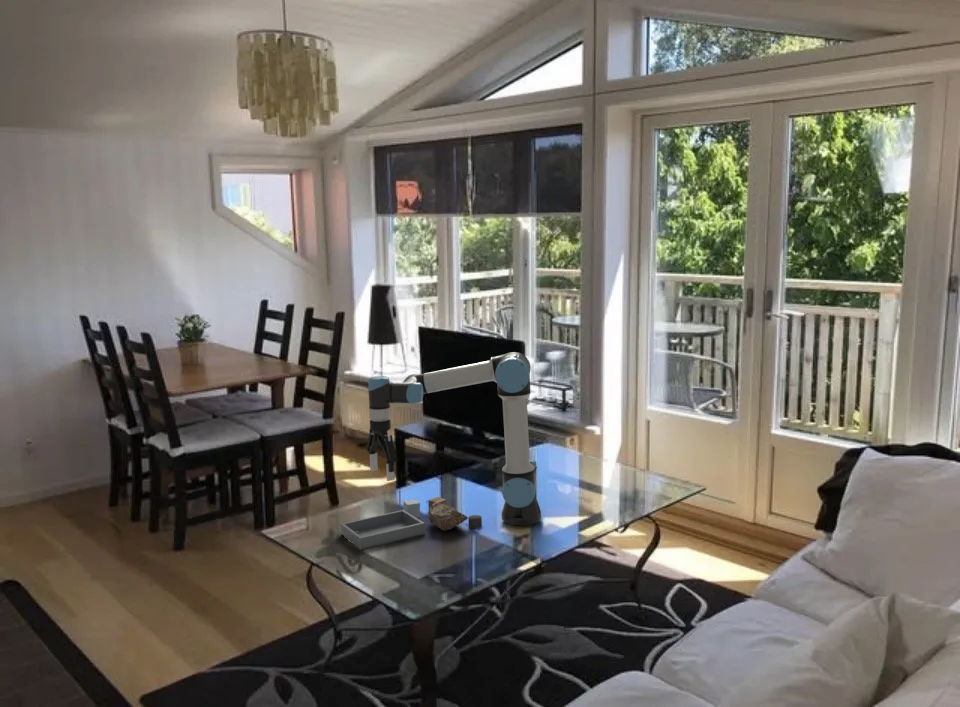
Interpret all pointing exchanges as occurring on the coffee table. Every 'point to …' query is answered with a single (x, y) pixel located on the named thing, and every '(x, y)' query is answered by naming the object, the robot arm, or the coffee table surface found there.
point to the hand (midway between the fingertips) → (382, 475)
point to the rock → (445, 516)
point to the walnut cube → (437, 499)
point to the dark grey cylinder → (475, 521)
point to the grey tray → (383, 529)
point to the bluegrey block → (412, 507)
